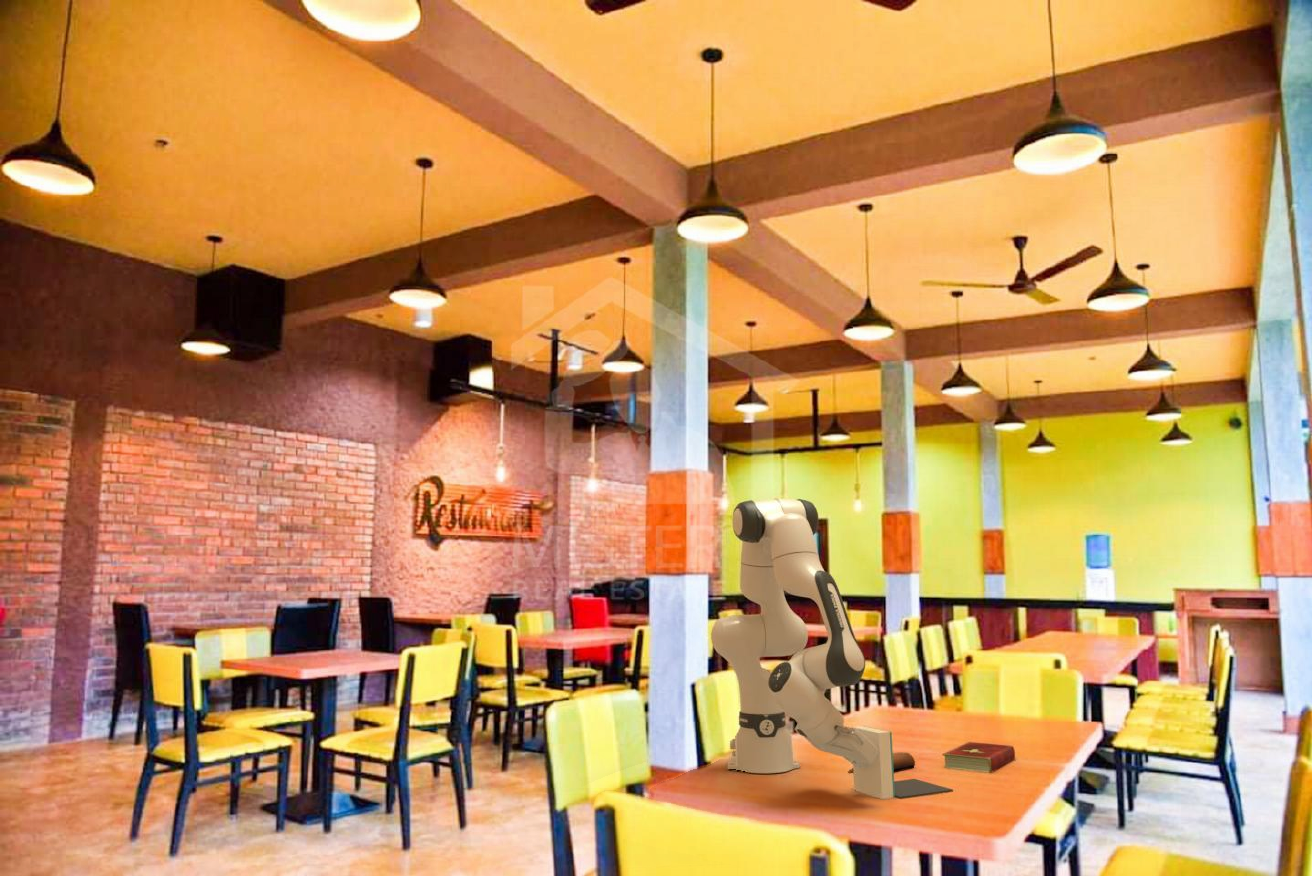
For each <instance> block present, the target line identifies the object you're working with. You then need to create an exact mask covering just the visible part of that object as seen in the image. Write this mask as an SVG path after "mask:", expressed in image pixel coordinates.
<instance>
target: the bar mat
mask: <svg viewBox="0 0 1312 876" xmlns="http://www.w3.org/2000/svg"><path fill="white" fill-rule="evenodd" d="M894 788H895V798H897V799H900V800H901V799H908V798H915V797H923V796H929V795H935V794H936V795H937V794H944V793H943V792H945V793H950V792H949V791H952V792H954V789H952V788H949V787H945V786H942V785H937V784H935V783H931V782H927V781H923V780H920V779H918V778H917V779H916V778H910V779H903V780H894Z"/></svg>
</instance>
